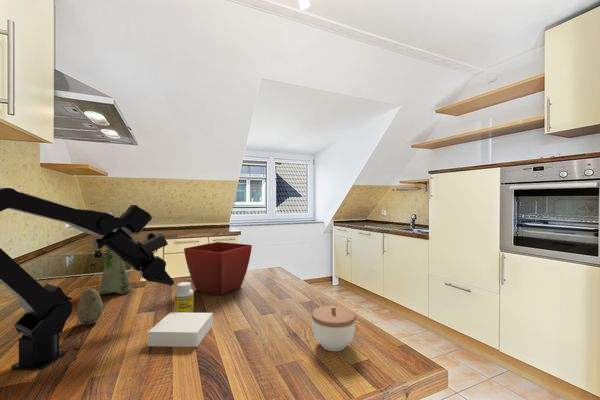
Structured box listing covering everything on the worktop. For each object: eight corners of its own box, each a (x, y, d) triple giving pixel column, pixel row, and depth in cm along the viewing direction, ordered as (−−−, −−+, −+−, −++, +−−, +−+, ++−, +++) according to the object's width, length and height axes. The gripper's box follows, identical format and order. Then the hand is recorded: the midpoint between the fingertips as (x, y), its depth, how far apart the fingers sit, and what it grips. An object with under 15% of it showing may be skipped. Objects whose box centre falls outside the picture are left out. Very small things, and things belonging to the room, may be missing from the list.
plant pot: (182, 291, 111) (182, 247, 111) (217, 279, 128) (218, 241, 128) (219, 300, 102) (220, 252, 102) (252, 286, 119) (253, 245, 119)
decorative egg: (72, 329, 79) (72, 292, 79) (82, 320, 84) (82, 286, 84) (97, 327, 80) (97, 290, 80) (105, 318, 86) (106, 284, 86)
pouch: (116, 298, 103) (116, 228, 103) (87, 296, 105) (87, 227, 105) (138, 288, 114) (138, 225, 114) (111, 287, 116) (111, 224, 116)
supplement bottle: (191, 310, 93) (191, 280, 93) (195, 316, 88) (195, 284, 88) (173, 313, 90) (173, 282, 90) (176, 319, 85) (176, 287, 85)
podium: (197, 346, 70) (197, 332, 70) (147, 346, 70) (147, 331, 70) (212, 325, 82) (212, 312, 82) (170, 324, 82) (170, 312, 82)
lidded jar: (320, 359, 65) (320, 317, 65) (306, 337, 75) (306, 301, 75) (363, 353, 68) (363, 313, 68) (343, 332, 78) (344, 297, 78)
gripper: (157, 228, 75) (199, 264, 82) (141, 222, 90) (178, 254, 97) (122, 262, 70) (169, 297, 78) (111, 251, 85) (152, 281, 92)
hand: (168, 280), depth 86 cm, fingers open, 9 cm apart
